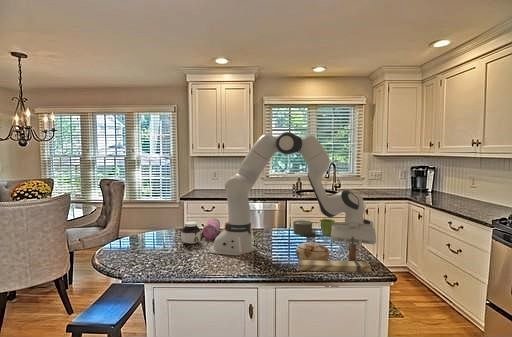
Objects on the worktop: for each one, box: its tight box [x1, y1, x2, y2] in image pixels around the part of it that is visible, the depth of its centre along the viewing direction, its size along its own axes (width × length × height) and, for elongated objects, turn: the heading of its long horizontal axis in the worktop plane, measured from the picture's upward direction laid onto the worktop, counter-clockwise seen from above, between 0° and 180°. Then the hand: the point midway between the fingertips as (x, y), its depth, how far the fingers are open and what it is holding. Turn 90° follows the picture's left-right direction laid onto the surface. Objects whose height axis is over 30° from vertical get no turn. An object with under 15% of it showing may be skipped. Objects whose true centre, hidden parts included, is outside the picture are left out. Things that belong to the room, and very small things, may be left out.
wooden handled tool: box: [348, 237, 357, 261], centre depth 146 cm, size 3×3×12 cm
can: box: [292, 219, 313, 236], centre depth 201 cm, size 12×12×7 cm
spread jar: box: [180, 221, 201, 246], centre depth 179 cm, size 12×11×12 cm
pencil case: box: [202, 218, 221, 240], centre depth 196 cm, size 21×9×9 cm, turn 0°
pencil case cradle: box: [200, 226, 225, 240], centre depth 197 cm, size 13×23×3 cm, turn 176°
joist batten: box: [297, 259, 372, 273], centre depth 138 cm, size 30×6×2 cm, turn 86°
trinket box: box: [295, 241, 330, 261], centre depth 150 cm, size 13×15×8 cm
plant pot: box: [319, 218, 336, 237], centre depth 197 cm, size 9×9×9 cm
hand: (352, 249), depth 146 cm, fingers closed on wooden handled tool, 3 cm apart
